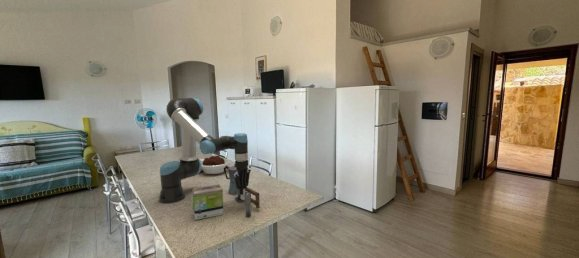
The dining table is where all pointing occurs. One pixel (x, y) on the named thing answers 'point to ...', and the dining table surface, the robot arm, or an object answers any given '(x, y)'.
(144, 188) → the dining table surface
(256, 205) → the gate
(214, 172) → the bowl of brown food
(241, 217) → the dining table surface
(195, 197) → the tea box
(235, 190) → the moka pot
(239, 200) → the gate posts
